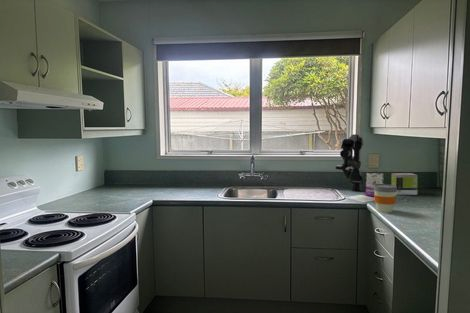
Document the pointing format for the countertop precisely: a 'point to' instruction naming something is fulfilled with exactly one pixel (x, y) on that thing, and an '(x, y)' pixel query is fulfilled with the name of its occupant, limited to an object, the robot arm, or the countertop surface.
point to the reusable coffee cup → (385, 197)
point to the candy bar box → (372, 182)
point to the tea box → (405, 183)
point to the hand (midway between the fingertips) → (347, 178)
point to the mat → (361, 198)
